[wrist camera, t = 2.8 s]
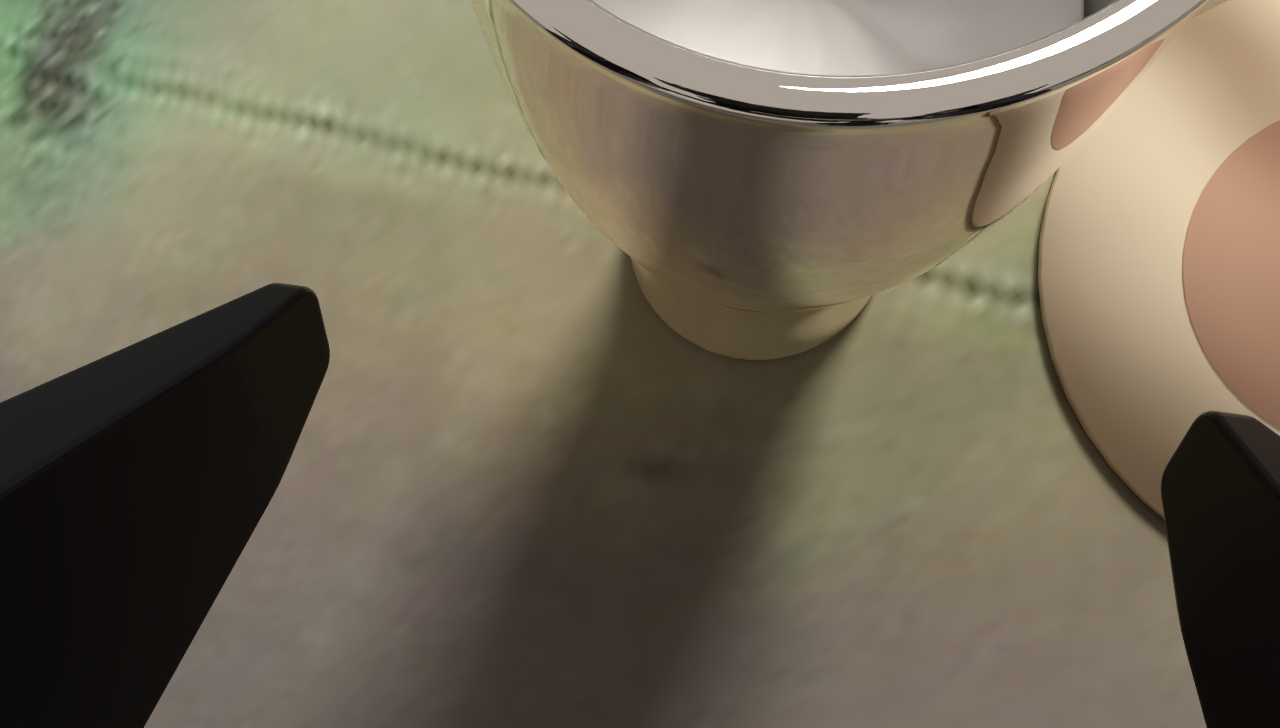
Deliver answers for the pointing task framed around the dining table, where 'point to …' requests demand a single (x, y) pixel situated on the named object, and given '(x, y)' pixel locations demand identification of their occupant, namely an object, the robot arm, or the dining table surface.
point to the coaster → (1172, 248)
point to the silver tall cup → (809, 136)
